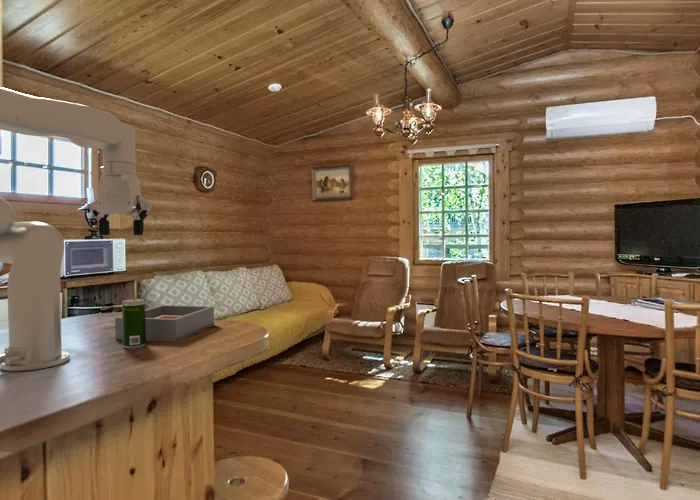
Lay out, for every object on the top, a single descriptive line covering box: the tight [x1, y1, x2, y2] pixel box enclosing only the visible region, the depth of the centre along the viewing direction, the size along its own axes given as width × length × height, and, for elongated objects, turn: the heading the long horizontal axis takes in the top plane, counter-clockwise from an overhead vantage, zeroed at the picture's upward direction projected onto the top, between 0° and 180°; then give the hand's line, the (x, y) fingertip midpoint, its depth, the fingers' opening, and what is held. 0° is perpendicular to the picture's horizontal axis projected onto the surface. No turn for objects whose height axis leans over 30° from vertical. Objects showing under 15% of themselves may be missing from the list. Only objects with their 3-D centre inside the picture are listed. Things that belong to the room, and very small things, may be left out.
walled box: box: [114, 304, 215, 343], centre depth 129 cm, size 22×18×6 cm
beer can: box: [121, 298, 147, 350], centre depth 112 cm, size 5×5×12 cm
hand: (121, 235), depth 116 cm, fingers open, 9 cm apart
